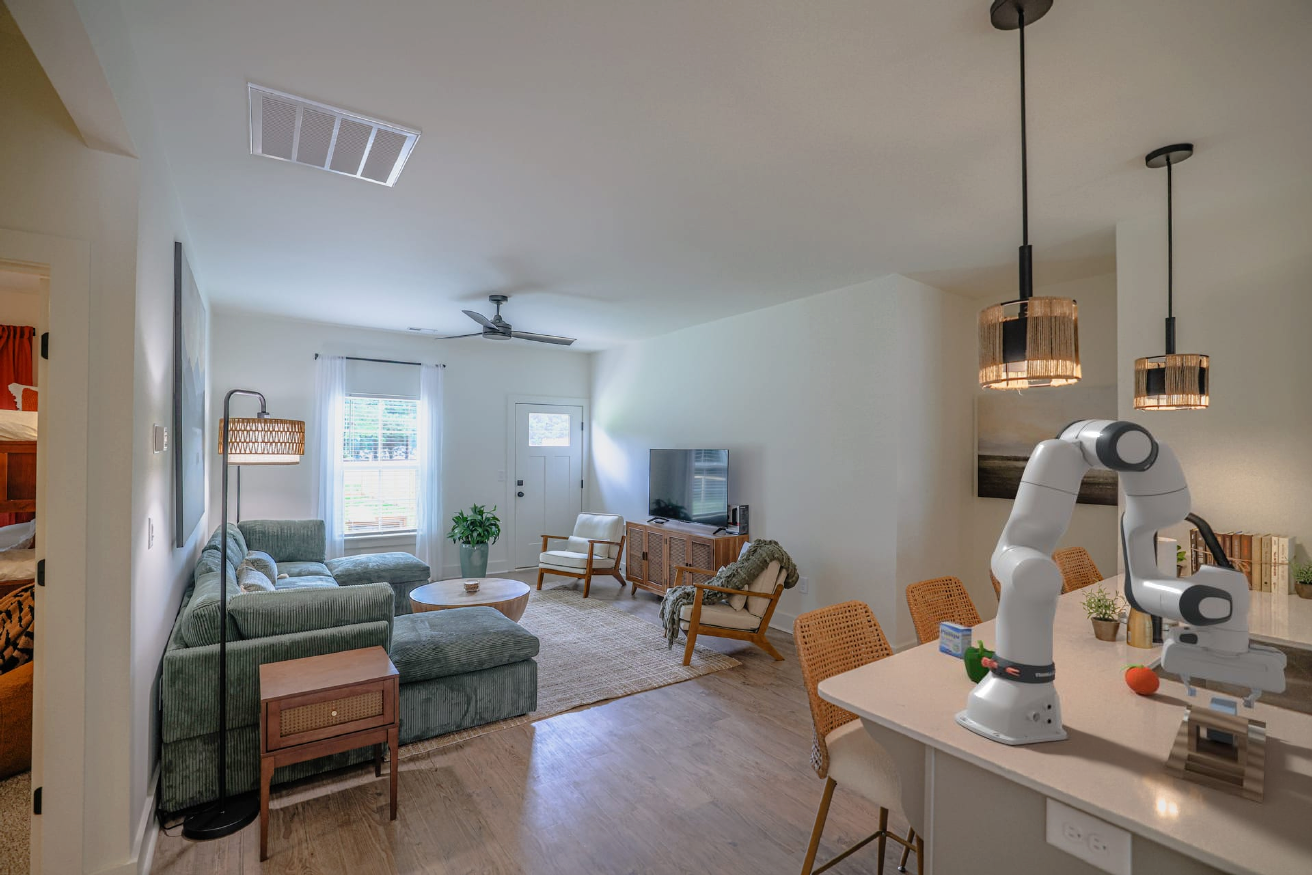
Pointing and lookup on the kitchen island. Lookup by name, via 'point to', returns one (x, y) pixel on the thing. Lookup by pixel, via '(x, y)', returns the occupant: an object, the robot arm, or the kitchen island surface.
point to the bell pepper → (976, 662)
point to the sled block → (1225, 707)
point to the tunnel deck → (1220, 752)
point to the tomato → (1141, 679)
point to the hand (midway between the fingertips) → (1219, 701)
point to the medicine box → (954, 639)
